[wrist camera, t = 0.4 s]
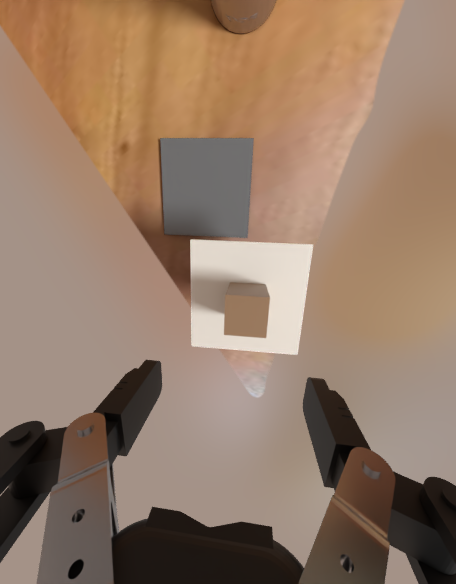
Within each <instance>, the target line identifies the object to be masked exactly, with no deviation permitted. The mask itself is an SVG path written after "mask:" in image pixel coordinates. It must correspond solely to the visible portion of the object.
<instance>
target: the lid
mask: <svg viewBox="0 0 456 584" xmlns="http://www.w3.org/2000/svg"><path fill="white" fill-rule="evenodd" d="M312 250H313V244H295V243H270V242H246V241H222V240H197V239H190V258H191V336H192V346H195V347H208V348H220V349H232V350H244V351H256V352H268V353H280V354H292V355H298V348H299V341H300V334H301V326H302V320H303V313H304V306H305V299H306V292H307V285H308V278H309V271H310V264H311V257H312Z"/></svg>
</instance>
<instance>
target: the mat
mask: <svg viewBox="0 0 456 584" xmlns="http://www.w3.org/2000/svg"><path fill="white" fill-rule="evenodd" d="M253 140H254V138H160V142H161V165H162V188H163V211H164V234H168V235H192V236H216V237H240V238H247V237H248V221H249V205H250V188H251V172H252V156H253Z"/></svg>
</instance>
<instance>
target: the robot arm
mask: <svg viewBox="0 0 456 584" xmlns="http://www.w3.org/2000/svg"><path fill="white" fill-rule="evenodd" d="M211 2H212V6H213V10H214V13H215V15H216V17H217V19H218V20H219V22H220V23H221V24H222V25H223V26H224V27H225V28H226V29H228V30H229V31H232V32H234V33H248V32H251V31H253V30H255V29H257V28H258V27H259V26H261V25H262V24H263V23H264V22H265V21H266V19H267V18H268V17H269V15H270V13H271V12H272V10H273V8H274V5H275V3H276V0H211ZM161 389H162V374H161V362H160V361H153V360H146V361H144V363H143V364H142V365H141V366H140V367H139V369H137V368H134V369H133V370H132V371H130V372H128V373H127V374H125V376H124V377H123V378H122V379H121V380H120V382H119V383H118V384H117V385H116V386H115V388H114V389H113V390H112V391H111V392H110V393H109V394H108V396H107V397H106V398H105V399H104V400H103V401H102V403H101V404H100V405H99V406H98V407H97V409H96V410H95V411H94V412H93V413H89V414H86V415H83V416H81V417H79V418H77V419H76V420H74V421H73V422H72V423H71V424H70V425H69V426H68V427H64V428H58V429H52V430H46V431H45V427H44V425H43V423H42V422H39V421H31V422H26V423H23V424H21V425H18V426H16V427H14V428H13V429H11V430H9V431H8V432H6V433H5V434H4V435H3V436H2V437H0V494H1V493H2V492H3V491H4V490H5V489H6V488H7V486H9V487H8V488H7V489H6V490H5V492H4V493H3V494H2V495H1V496H0V562H1V561H2V560H3V558H4V557H5V555H6V554H7V553H8V551H9V550H10V548H11V547H12V545H13V544H14V543H15V541H16V540H17V538H18V537H19V536H20V534H21V533H22V531H23V530H24V528H25V527H26V526H27V524H28V523H29V521H30V520H31V518H32V517H33V516H34V514H35V513H36V511H37V510H38V509H39V507H40V506H41V504H42V503H43V501H44V500H45V499H46V497H47V496H48V494H49V493H50V492H51V493H50V499H49V507H48V512H47V519H46V526H45V532H44V539H43V545H42V552H41V558H40V565H39V572H38V578H37V584H385V576H386V569H387V562H388V555H389V545H391V546H393V547H395V548H397V549H399V550H400V551H403V552H404V553H406V555H407V558H408V560H409V562H410V564H411V567H412V569H413V572H414V574H415V576H416V579H417V581H418V583H419V584H456V486H455V485H453V484H452V483H450V482H448V481H446V480H443V479H441V478H437V477H429V478H427V479H426V480H425V482H424V484H421V483H418V482H416V481H413V480H411V479H409V478H407V477H404V476H402V475H400V474H398V473H395V472H393V471H392V469H391V467H390V466H389V465H388V463H387V462H386V461H385V460H384V459H383V458H382V457H381V456H379V455H378V454H376V453H375V452H373V451H371V449H370V447H369V445H368V443H367V441H366V440H365V438H364V436H363V434H362V432H361V430H360V429H359V427H358V425H357V423H356V421H355V419H354V418H353V416H352V414H351V412H350V410H349V408H348V406H347V404H346V403H345V401H344V399H343V398H342V397H341V396H340V395H339V394H338V393H337V392H336V391H333V390H329V388H328V386H327V384H326V382H325V380H324V379H319V378H310V377H309V378H308V379H307V383H306V389H305V394H304V399H303V412H304V416H305V419H306V423H307V427H308V430H309V434H310V437H311V441H312V444H313V448H314V452H315V455H316V459H317V462H318V466H319V469H320V473H321V476H322V480H323V483H324V486H325V487H330V488H334V490H335V493H334V495H333V496H332V498H331V501H330V503H329V506H328V508H327V511H326V514H325V516H324V518H323V521H322V524H321V526H320V529H319V532H318V534H317V537H316V539H315V542H314V544H313V547H312V550H311V552H310V555H309V558H308V560H307V563H306V565H305V568H303V566H302V565H301V563H299V561H298V560H297V559H296V558H295V557H294V555H292V554H291V553H290V552H289V551H288V550H287V549H286V548H285V547H283V546H282V545H281V544H279V543H278V542H276V541H274V540H273V535H272V527H270V526H264V525H258V524H252V523H246V522H238V523H232V524H227V525H221V526H216V527H207V526H205V525H203V524H201V523H200V522H198V521H196V520H194V519H193V518H191V517H189V516H187V515H186V514H184V513H182V512H180V511H174V510H168V509H162V508H156V507H152V509H151V512H150V514H149V517H148V519H144V520H141V521H138V522H136V523H133V524H131V525H129V526H128V527H126V528H124V529H123V530H121V531H120V532H119V526H118V519H117V508H116V496H115V484H114V472H113V462H114V460H115V459H116V457H117V455H121V456H127V455H128V453H129V451H130V449H131V447H132V445H133V443H134V442H135V440H136V438H137V436H138V434H139V432H140V431H141V429H142V427H143V425H144V423H145V421H146V420H147V418H148V416H149V414H150V412H151V410H152V409H153V407H154V405H155V403H156V401H157V399H158V397H159V395H160V393H161Z"/></svg>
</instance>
